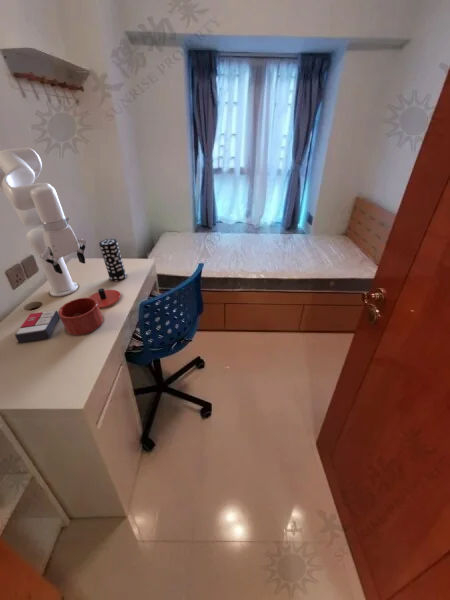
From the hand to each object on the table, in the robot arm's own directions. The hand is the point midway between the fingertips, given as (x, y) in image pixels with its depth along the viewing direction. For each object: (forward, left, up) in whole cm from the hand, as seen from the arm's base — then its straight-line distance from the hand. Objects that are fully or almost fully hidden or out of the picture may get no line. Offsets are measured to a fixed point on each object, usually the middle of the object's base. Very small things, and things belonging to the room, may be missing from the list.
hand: (71, 267), depth 109 cm
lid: (-4, +11, -22) cm, 25 cm away
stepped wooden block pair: (+5, -5, -22) cm, 23 cm away
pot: (+5, -5, -23) cm, 24 cm away
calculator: (-9, -17, -23) cm, 29 cm away
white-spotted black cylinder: (-16, +28, -23) cm, 40 cm away
